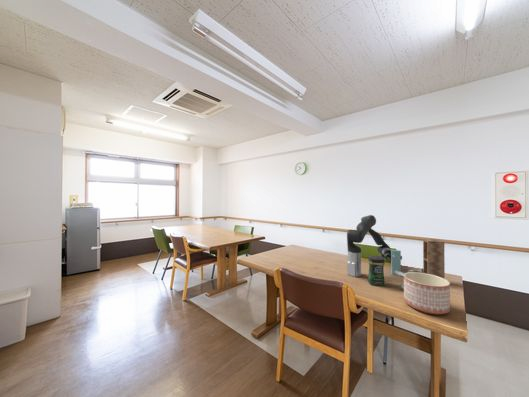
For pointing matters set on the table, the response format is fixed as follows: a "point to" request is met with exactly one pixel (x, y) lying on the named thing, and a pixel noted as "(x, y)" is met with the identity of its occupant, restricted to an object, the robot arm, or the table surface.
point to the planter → (427, 293)
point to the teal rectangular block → (395, 261)
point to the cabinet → (432, 258)
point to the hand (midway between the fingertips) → (393, 258)
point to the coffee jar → (376, 270)
